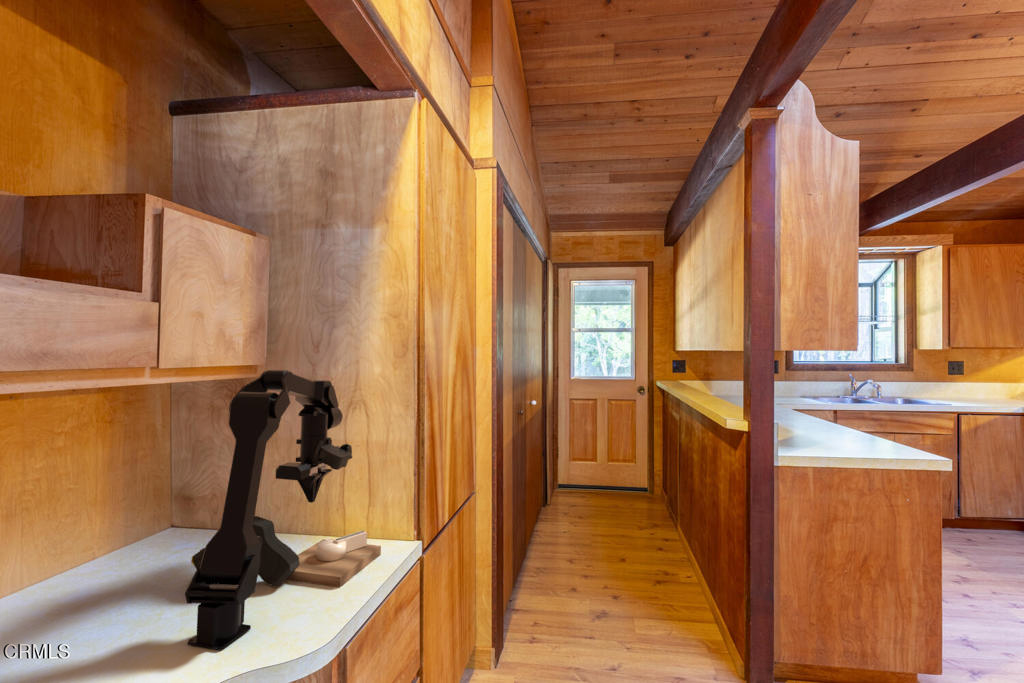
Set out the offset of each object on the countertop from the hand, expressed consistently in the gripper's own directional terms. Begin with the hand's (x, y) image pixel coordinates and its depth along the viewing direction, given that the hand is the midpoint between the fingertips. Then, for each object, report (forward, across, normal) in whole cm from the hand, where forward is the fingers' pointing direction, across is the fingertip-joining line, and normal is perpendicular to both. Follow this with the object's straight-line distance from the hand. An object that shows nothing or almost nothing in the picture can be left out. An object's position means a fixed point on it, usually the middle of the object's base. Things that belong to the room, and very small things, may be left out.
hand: (311, 502), depth 114 cm
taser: (+12, -15, +4) cm, 20 cm away
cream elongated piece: (+10, -2, -9) cm, 14 cm away
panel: (+12, -4, -8) cm, 15 cm away
